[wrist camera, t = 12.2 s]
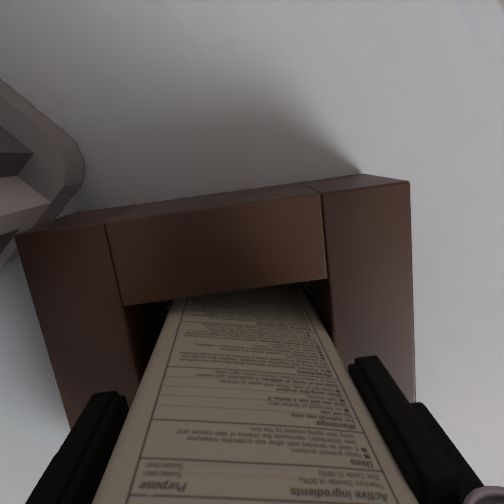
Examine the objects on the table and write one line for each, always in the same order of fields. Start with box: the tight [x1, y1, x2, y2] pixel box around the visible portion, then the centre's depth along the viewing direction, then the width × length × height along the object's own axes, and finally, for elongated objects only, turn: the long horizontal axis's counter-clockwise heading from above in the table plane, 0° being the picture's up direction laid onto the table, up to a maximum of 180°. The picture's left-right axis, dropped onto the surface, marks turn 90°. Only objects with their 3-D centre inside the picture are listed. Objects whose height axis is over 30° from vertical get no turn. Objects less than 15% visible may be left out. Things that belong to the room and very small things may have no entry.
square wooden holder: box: [14, 174, 416, 429], centre depth 14 cm, size 11×11×4 cm
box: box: [92, 285, 419, 504], centre depth 10 cm, size 5×4×11 cm
